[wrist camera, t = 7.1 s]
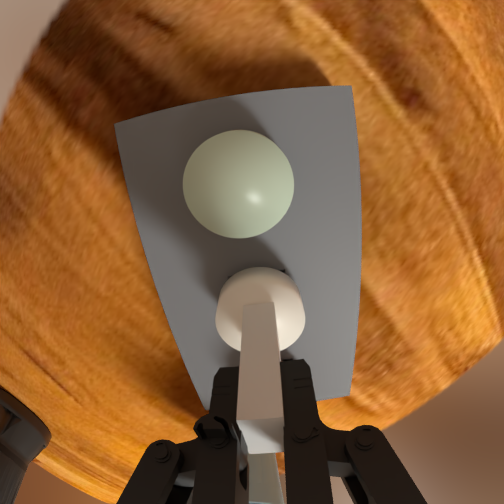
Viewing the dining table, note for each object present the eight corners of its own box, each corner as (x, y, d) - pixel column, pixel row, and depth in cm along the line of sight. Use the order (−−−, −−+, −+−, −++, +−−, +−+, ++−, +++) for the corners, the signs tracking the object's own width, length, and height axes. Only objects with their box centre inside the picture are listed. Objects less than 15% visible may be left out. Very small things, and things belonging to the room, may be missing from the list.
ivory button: (229, 316, 20) (224, 358, 16) (216, 254, 18) (206, 290, 14) (298, 308, 19) (306, 349, 16) (293, 244, 17) (302, 279, 14)
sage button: (207, 216, 17) (194, 244, 13) (192, 136, 15) (173, 141, 11) (289, 205, 16) (299, 231, 13) (279, 123, 14) (286, 123, 11)
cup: (195, 416, 27) (182, 502, 18) (260, 400, 26) (262, 498, 16) (231, 445, 30) (227, 519, 21) (290, 432, 29) (297, 512, 19)
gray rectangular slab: (209, 384, 25) (205, 409, 22) (135, 122, 16) (113, 123, 13) (342, 369, 24) (349, 395, 21) (335, 90, 15) (351, 85, 12)
